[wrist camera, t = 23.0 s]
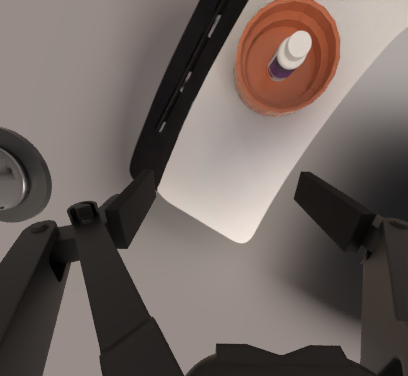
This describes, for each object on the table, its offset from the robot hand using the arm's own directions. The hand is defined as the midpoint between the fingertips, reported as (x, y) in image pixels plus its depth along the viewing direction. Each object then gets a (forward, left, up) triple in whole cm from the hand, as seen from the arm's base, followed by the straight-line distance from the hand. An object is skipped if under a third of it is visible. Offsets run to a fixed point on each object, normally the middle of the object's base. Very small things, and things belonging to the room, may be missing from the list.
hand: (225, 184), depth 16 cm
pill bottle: (+2, +21, -24) cm, 32 cm away
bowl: (+2, +21, -24) cm, 32 cm away
